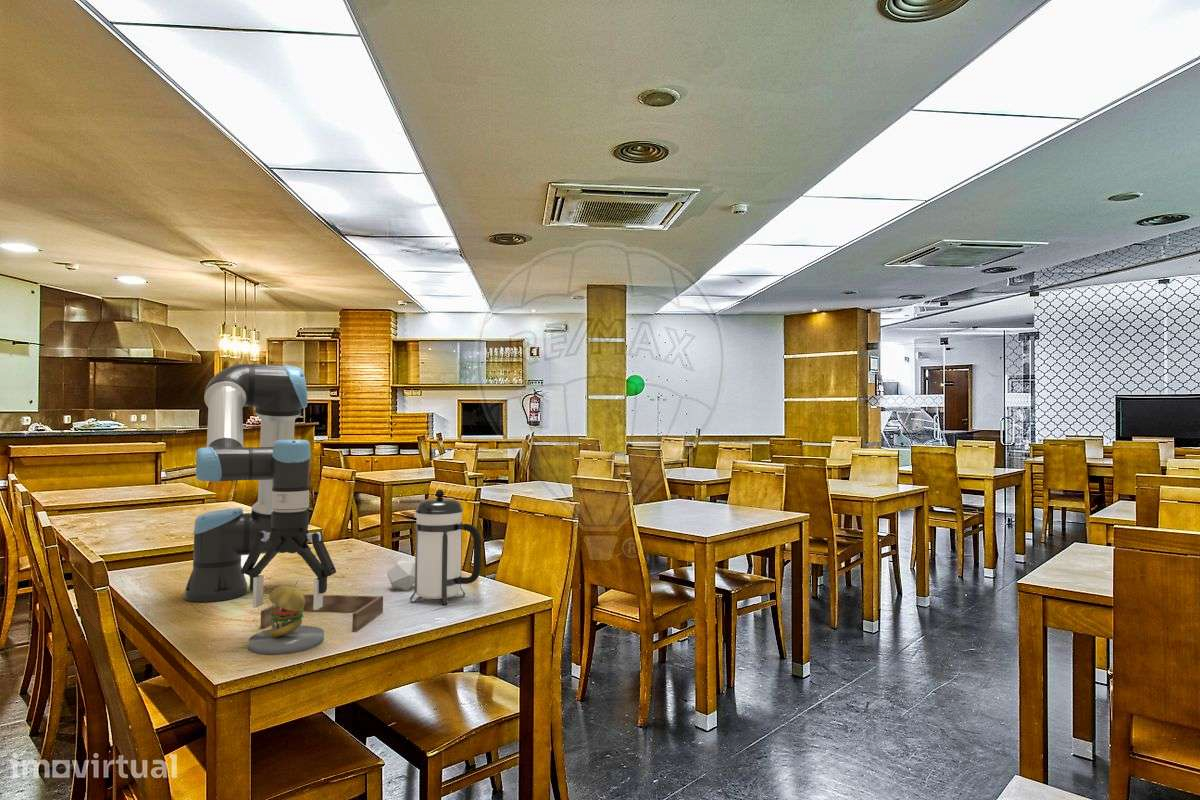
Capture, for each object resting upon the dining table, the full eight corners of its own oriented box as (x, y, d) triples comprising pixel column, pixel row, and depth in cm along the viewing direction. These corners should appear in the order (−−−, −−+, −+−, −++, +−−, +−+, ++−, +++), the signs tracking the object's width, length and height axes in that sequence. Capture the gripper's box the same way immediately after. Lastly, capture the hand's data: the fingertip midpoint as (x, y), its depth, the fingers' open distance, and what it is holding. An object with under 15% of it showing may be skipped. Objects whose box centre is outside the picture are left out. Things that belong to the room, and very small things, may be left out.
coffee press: (414, 610, 175) (416, 493, 176) (406, 595, 190) (408, 487, 191) (480, 603, 182) (482, 491, 183) (467, 590, 197) (469, 486, 198)
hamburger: (275, 630, 152) (277, 576, 153) (309, 630, 153) (310, 576, 153) (262, 641, 145) (263, 584, 145) (297, 641, 145) (298, 584, 146)
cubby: (260, 628, 159) (260, 610, 159) (295, 609, 175) (295, 593, 175) (356, 631, 158) (356, 613, 158) (382, 612, 173) (383, 596, 174)
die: (425, 589, 200) (417, 559, 205) (415, 580, 193) (408, 550, 198) (398, 600, 199) (391, 570, 204) (387, 591, 192) (381, 560, 197)
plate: (233, 653, 142) (233, 645, 142) (272, 631, 157) (272, 624, 157) (303, 655, 141) (303, 648, 141) (335, 633, 156) (335, 626, 156)
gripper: (225, 510, 147) (222, 610, 146) (337, 513, 145) (335, 613, 145) (245, 506, 154) (242, 601, 154) (352, 508, 153) (350, 604, 152)
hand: (287, 607), depth 149 cm, fingers open, 13 cm apart
